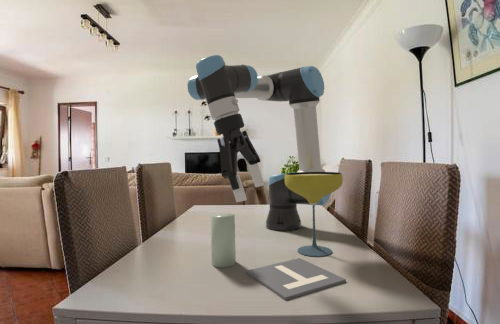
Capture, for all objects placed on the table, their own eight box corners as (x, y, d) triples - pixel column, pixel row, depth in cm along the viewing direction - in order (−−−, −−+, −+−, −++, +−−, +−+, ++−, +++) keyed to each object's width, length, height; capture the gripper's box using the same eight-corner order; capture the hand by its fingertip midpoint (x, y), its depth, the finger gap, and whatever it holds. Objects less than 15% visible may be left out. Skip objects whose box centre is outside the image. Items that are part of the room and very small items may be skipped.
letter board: (299, 260, 90) (299, 258, 90) (345, 281, 74) (345, 279, 74) (245, 272, 81) (245, 270, 81) (285, 300, 65) (285, 297, 65)
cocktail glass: (344, 245, 103) (343, 171, 103) (342, 263, 86) (341, 175, 86) (292, 241, 109) (290, 171, 109) (280, 258, 92) (278, 175, 92)
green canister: (229, 257, 94) (228, 212, 93) (239, 264, 88) (238, 216, 87) (208, 261, 90) (206, 214, 90) (217, 269, 84) (215, 219, 84)
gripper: (216, 115, 67) (246, 205, 69) (255, 110, 90) (277, 178, 91) (189, 125, 70) (218, 211, 72) (233, 117, 93) (255, 183, 94)
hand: (251, 193), depth 82 cm, fingers open, 13 cm apart
